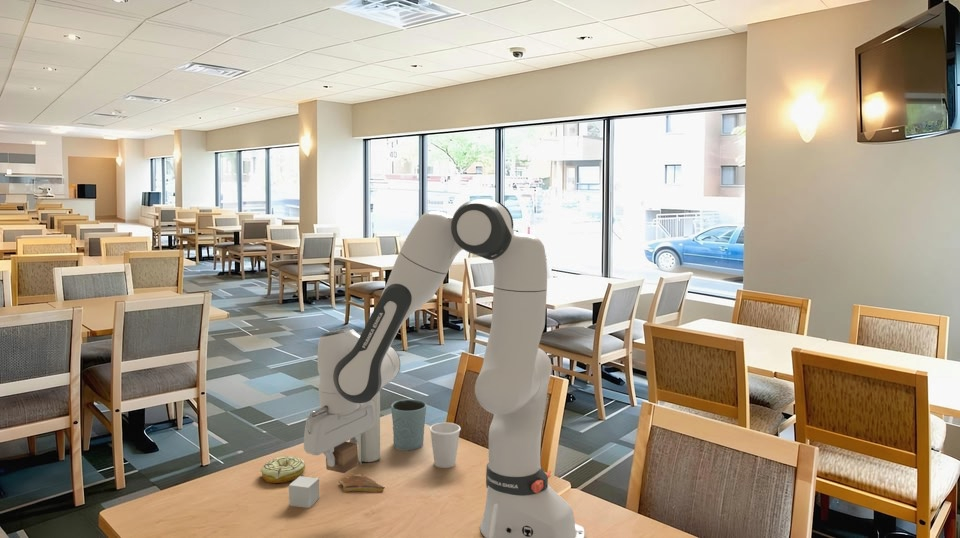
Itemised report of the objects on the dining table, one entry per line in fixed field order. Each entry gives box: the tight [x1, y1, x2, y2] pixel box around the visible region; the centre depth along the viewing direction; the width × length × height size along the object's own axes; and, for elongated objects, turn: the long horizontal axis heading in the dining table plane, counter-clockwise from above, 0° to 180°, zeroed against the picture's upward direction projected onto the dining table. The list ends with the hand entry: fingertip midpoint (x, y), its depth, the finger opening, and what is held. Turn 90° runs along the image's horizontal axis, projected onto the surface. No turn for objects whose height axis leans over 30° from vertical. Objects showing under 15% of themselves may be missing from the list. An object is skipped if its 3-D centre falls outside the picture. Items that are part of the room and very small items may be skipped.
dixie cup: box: [429, 422, 462, 469], centre depth 172 cm, size 8×8×10 cm
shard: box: [338, 474, 386, 493], centre depth 157 cm, size 11×8×2 cm
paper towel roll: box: [357, 390, 381, 464], centre depth 174 cm, size 7×6×21 cm
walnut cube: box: [325, 441, 359, 474], centre depth 144 cm, size 5×5×5 cm
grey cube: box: [288, 475, 320, 509], centre depth 150 cm, size 5×5×5 cm
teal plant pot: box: [390, 398, 427, 451], centre depth 185 cm, size 10×10×12 cm
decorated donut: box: [260, 455, 306, 484], centre depth 164 cm, size 10×11×4 cm
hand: (342, 460), depth 145 cm, fingers closed on walnut cube, 5 cm apart
